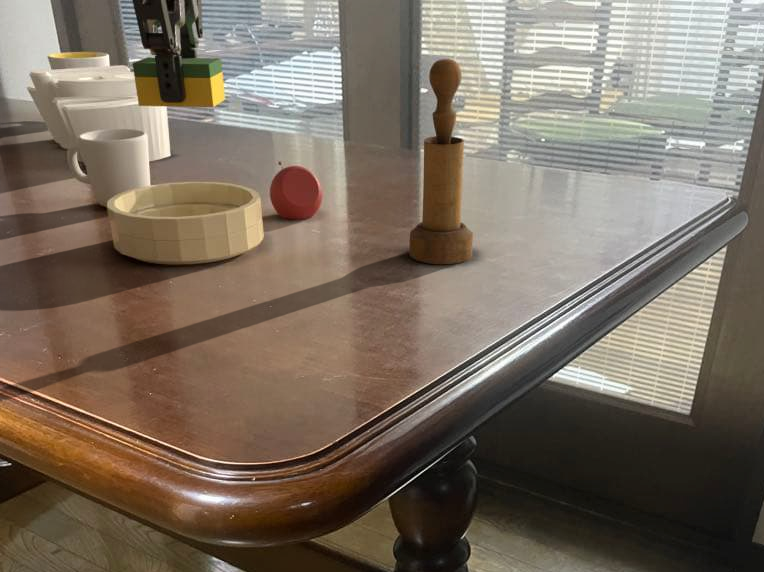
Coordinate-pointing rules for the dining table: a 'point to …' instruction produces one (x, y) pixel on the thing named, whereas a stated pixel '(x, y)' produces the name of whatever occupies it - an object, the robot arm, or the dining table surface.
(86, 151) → the cup
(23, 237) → the dining table surface
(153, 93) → the sponge
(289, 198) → the fruit
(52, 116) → the white wavy slab sculpture
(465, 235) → the mortar and pestle
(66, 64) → the mug
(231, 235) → the bowl
